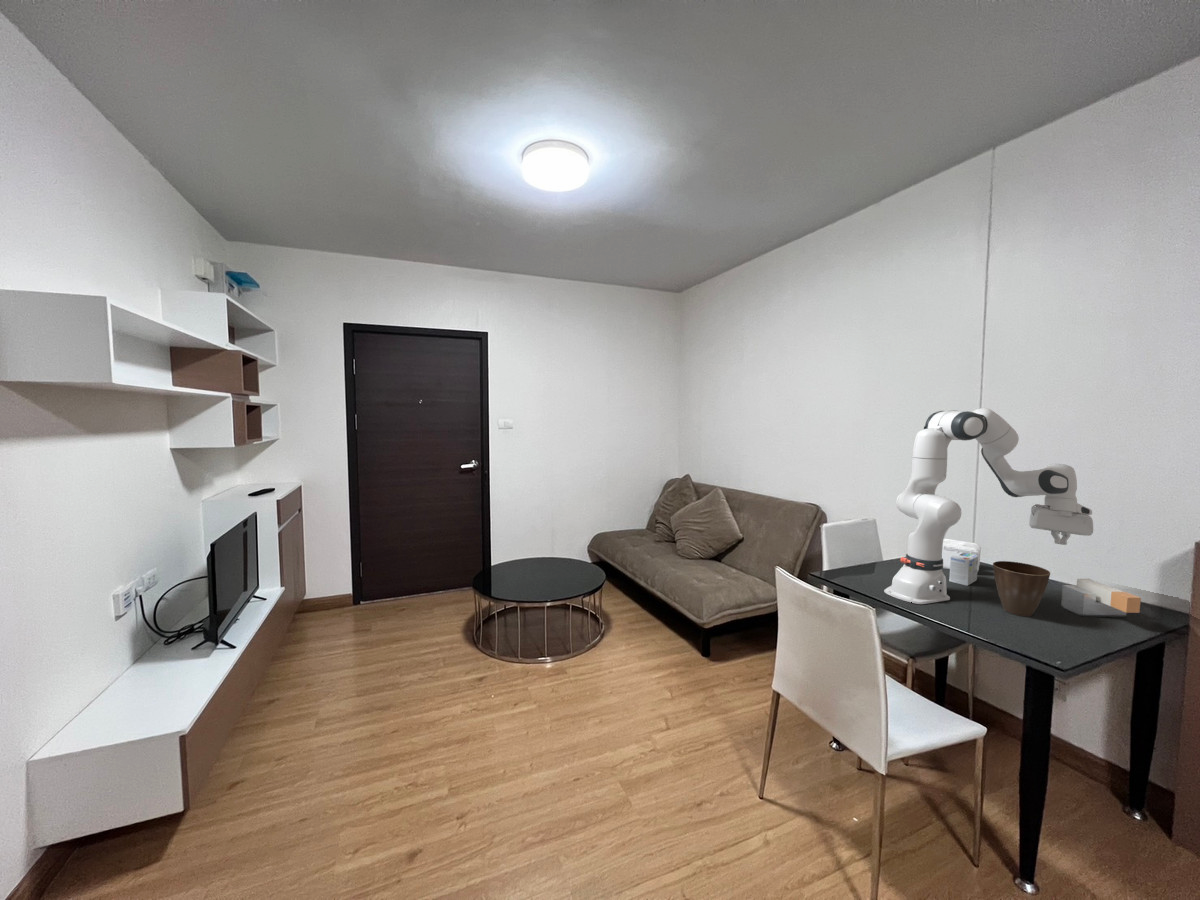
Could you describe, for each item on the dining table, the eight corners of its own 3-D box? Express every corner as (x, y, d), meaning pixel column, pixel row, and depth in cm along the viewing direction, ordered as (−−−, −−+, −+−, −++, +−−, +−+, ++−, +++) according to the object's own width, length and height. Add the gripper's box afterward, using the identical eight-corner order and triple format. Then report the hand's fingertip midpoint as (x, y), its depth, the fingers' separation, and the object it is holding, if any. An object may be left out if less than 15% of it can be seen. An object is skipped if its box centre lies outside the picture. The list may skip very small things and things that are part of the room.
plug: (1075, 592, 168) (1077, 578, 168) (1087, 592, 168) (1088, 578, 167) (1126, 612, 151) (1127, 597, 151) (1139, 612, 151) (1140, 597, 150)
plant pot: (988, 600, 175) (990, 558, 173) (1042, 609, 166) (1045, 565, 165) (992, 614, 162) (995, 569, 161) (1051, 625, 154) (1055, 578, 153)
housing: (1061, 606, 168) (1062, 585, 168) (1102, 607, 168) (1104, 585, 167) (1082, 616, 160) (1084, 593, 160) (1126, 617, 160) (1128, 594, 159)
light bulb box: (958, 575, 200) (959, 551, 199) (977, 580, 195) (979, 555, 194) (948, 581, 194) (949, 556, 193) (968, 586, 188) (969, 560, 187)
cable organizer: (981, 570, 207) (983, 544, 206) (977, 575, 200) (979, 549, 199) (940, 562, 218) (942, 537, 217) (935, 567, 211) (936, 542, 210)
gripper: (1039, 502, 174) (1038, 540, 172) (1097, 511, 173) (1097, 548, 171) (1024, 503, 180) (1024, 539, 178) (1080, 511, 179) (1080, 548, 177)
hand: (1060, 544), depth 175 cm, fingers closed
